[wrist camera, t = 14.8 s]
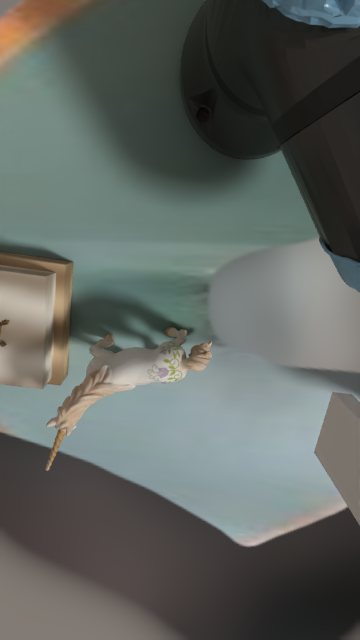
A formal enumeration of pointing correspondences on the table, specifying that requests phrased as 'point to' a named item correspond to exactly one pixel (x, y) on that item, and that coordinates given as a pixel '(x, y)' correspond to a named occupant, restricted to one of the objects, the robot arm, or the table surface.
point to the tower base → (34, 320)
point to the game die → (1, 329)
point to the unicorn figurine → (126, 375)
